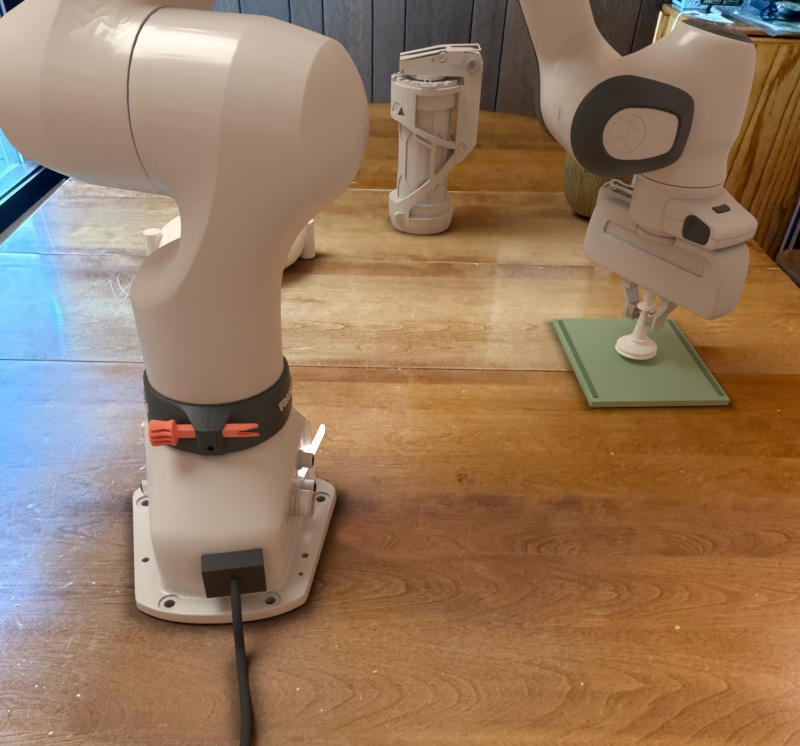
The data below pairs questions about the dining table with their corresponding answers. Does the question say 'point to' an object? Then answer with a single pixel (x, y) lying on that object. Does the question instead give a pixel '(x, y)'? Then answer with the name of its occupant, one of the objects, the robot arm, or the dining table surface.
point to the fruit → (584, 186)
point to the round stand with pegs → (172, 231)
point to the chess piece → (639, 333)
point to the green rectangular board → (636, 366)
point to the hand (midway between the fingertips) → (642, 322)
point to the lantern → (432, 131)
